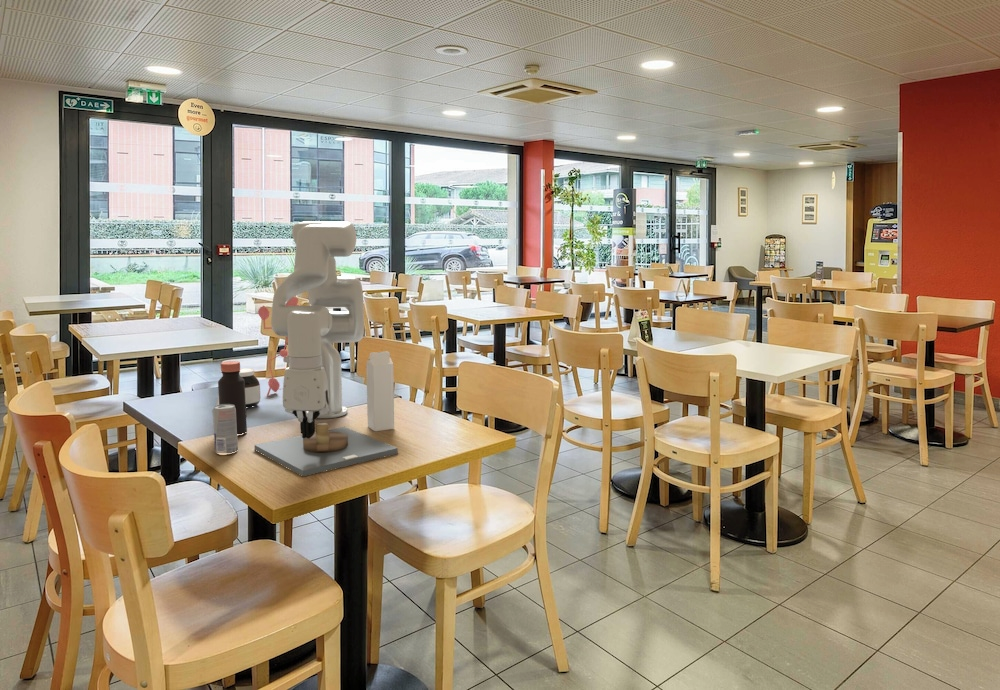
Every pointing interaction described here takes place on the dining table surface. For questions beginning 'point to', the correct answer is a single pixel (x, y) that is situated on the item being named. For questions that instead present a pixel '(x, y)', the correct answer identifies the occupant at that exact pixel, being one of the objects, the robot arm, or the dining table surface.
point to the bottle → (233, 392)
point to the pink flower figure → (264, 315)
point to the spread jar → (250, 387)
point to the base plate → (313, 462)
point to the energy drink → (225, 428)
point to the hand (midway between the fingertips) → (308, 436)
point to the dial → (325, 440)
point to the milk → (380, 391)
